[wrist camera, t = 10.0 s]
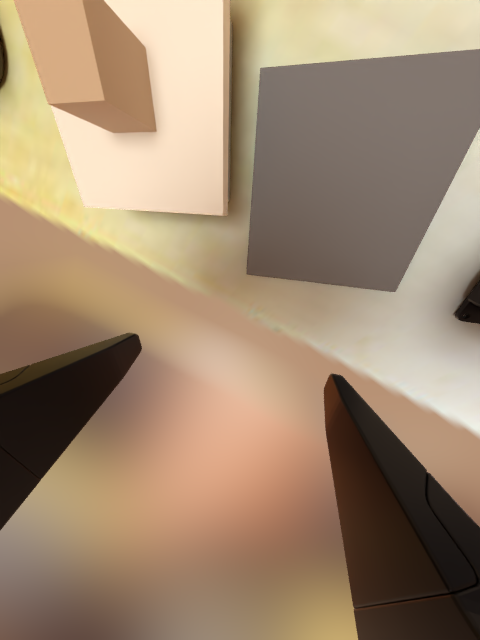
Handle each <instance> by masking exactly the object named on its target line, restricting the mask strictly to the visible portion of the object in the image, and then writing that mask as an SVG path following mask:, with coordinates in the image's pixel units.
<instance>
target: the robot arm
mask: <svg viewBox="0 0 480 640" xmlns="http://www.w3.org/2000/svg"><path fill="white" fill-rule="evenodd" d="M466 313H467V314H466ZM464 314H466V315H465V316H463V315H464ZM455 317H456V318H457V319H458V320H460V321H464V322H471V323H479V324H480V281H479V282H478V283H477V285H476V286H475V287H474V289H473V290H472V292H471V293H470V294H469V296H468V297H467V298H466V300H465V301H464V302H463V304H462V305H461V306H460V308H459V309H458V311H457V312H456V313H455ZM141 349H142V346H141V343H140V340H139V336H138V335H137V334H133V333H126V334H123V335H120V336H117V337H114V338H111V339H108V340H105V341H102V342H99V343H96V344H92V345H89V346H86V347H83V348H80V349H77V350H74V351H71V352H68V353H65V354H62V355H59V356H56V357H52V358H49V359H46V360H44V361H40V362H37V363H34V364H32V365H28V366H25V367H21V368H18V369H16V370H12V371H9V372H6V373H3V374H0V530H1V529H2V528H3V526H4V525H5V524H6V523H7V521H8V520H9V519H10V518H11V517H12V515H13V514H14V513H15V512H16V510H17V509H18V508H19V507H20V505H21V504H22V503H23V502H24V500H25V499H26V498H27V497H28V495H29V494H30V493H31V492H32V490H33V489H34V488H35V487H36V486H37V484H38V483H39V482H40V480H41V479H42V478H43V477H44V475H45V474H46V473H47V472H48V470H49V469H50V468H51V467H52V465H53V464H54V463H55V462H56V461H57V459H58V458H59V457H60V456H61V454H62V453H63V452H64V451H65V449H66V448H67V447H68V446H69V444H70V443H71V441H73V439H74V438H75V437H76V436H77V434H78V433H79V432H80V431H81V430H82V428H83V427H84V426H85V425H86V423H87V422H88V421H89V420H90V418H91V417H92V416H93V415H94V414H95V412H96V411H97V410H98V409H99V407H100V406H101V405H102V404H103V402H104V401H105V400H106V398H107V397H108V396H109V395H110V394H111V392H112V391H113V390H114V388H115V387H116V386H117V385H118V384H119V382H120V381H121V380H122V379H123V377H124V376H125V375H126V373H127V372H128V370H129V368H130V367H131V365H132V364H133V363H134V361H135V360H136V358H137V357H138V355H139V354H140V352H141ZM324 407H325V428H326V436H327V442H328V449H329V456H330V461H331V468H332V474H333V480H334V487H335V494H336V499H337V506H338V512H339V519H340V525H341V532H342V537H343V544H344V551H345V557H346V563H347V569H348V576H349V582H350V589H351V595H352V601H353V606H354V608H355V609H354V615H355V621H356V628H357V633H358V640H480V527H479V526H478V525H477V524H476V523H475V522H474V521H473V520H472V519H471V518H470V517H469V515H468V514H466V512H465V511H464V510H463V509H462V508H461V507H460V506H459V505H458V504H457V503H456V502H455V500H454V499H453V498H452V497H451V496H450V495H449V494H448V493H447V492H446V491H445V490H444V489H443V487H442V486H441V485H440V484H439V483H438V482H437V481H436V480H435V478H434V477H433V476H432V475H431V474H430V473H428V472H427V470H426V469H425V467H424V466H423V465H422V464H421V463H420V462H419V461H418V460H417V459H416V457H414V455H413V454H412V453H411V452H410V451H409V450H408V449H407V447H406V446H405V445H404V444H403V443H402V442H401V441H400V440H399V439H398V438H397V436H396V435H395V434H394V433H393V432H392V431H391V430H390V428H388V426H387V425H386V424H385V423H384V422H383V421H382V420H381V418H380V417H379V416H378V415H377V414H376V413H375V412H374V411H373V410H372V408H371V407H370V406H369V405H368V404H367V403H366V402H365V401H364V400H363V398H362V397H361V396H360V395H359V394H358V393H357V392H356V391H355V390H354V388H353V387H352V386H351V385H350V384H349V383H348V382H347V381H346V380H345V378H344V377H343V376H341V375H337V374H330V375H329V378H328V380H327V382H326V385H325V387H324Z"/></svg>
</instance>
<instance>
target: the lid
mask: <svg viewBox="0 0 480 640" xmlns="http://www.w3.org/2000/svg"><path fill="white" fill-rule="evenodd" d="M14 2H15V5H16V8H17V11H18V14H19V17H20V20H21V23H22V26H23V29H24V32H25V35H26V38H27V41H28V44H29V47H30V50H31V53H32V57H33V60H34V63H35V66H36V69H37V72H38V75H39V78H40V81H41V84H42V87H43V90H44V93H45V96H46V99H47V102H48V104H49V105H51V108H52V111H53V114H54V117H55V120H56V123H57V126H58V129H59V132H60V135H61V138H62V141H63V144H64V147H65V150H66V153H67V156H68V159H69V162H70V165H71V168H72V172H73V175H74V178H75V181H76V184H77V187H78V190H79V193H80V196H81V199H82V202H83V205H84V207H92V208H108V209H124V210H140V211H156V212H172V213H188V214H204V215H220V216H228V138H229V53H230V0H14Z"/></svg>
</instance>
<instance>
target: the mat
mask: <svg viewBox="0 0 480 640" xmlns="http://www.w3.org/2000/svg"><path fill="white" fill-rule="evenodd" d="M479 128H480V49H476V50H464V51H453V52H441V53H429V54H418V55H406V56H395V57H383V58H371V59H360V60H348V61H336V62H325V63H313V64H302V65H290V66H278V67H267V68H260V83H259V98H258V113H257V127H256V142H255V157H254V172H253V187H252V201H251V216H250V231H249V246H248V260H247V274H249V275H257V276H265V277H273V278H282V279H290V280H298V281H307V282H315V283H323V284H332V285H340V286H348V287H357V288H365V289H373V290H381V291H390V292H395V291H396V290H397V288H398V286H399V284H400V282H401V280H402V278H403V276H404V274H405V272H406V270H407V268H408V266H409V264H410V262H411V260H412V258H413V256H414V254H415V252H416V251H417V249H418V247H419V245H420V243H421V241H422V239H423V237H424V235H425V233H426V231H427V229H428V227H429V225H430V223H431V221H432V219H433V217H434V215H435V213H436V211H437V210H438V208H439V206H440V204H441V202H442V200H443V198H444V196H445V194H446V192H447V190H448V188H449V186H450V184H451V182H452V180H453V178H454V176H455V174H456V172H457V170H458V169H459V167H460V165H461V163H462V161H463V159H464V157H465V155H466V153H467V151H468V149H469V147H470V145H471V143H472V141H473V139H474V137H475V135H476V133H477V131H478V130H479Z"/></svg>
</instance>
